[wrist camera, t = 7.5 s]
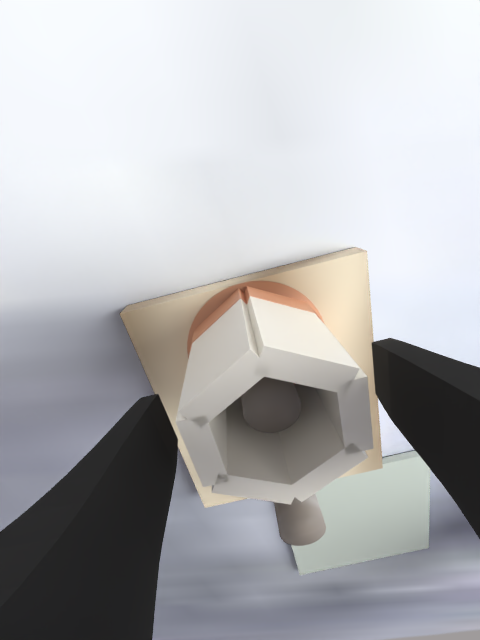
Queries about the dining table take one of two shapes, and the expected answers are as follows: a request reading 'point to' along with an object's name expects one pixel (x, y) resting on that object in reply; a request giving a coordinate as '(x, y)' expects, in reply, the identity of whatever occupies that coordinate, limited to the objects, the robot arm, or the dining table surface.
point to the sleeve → (283, 364)
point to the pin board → (311, 276)
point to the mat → (371, 515)
